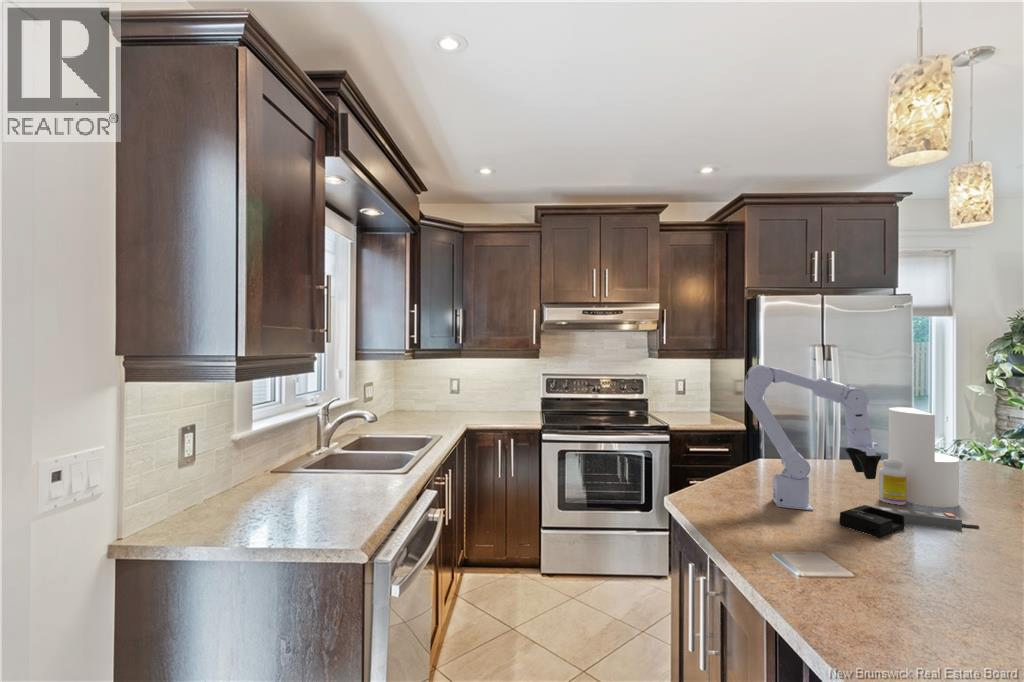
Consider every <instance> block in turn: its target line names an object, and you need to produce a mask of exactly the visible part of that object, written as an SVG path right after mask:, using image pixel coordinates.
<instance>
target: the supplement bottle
mask: <svg viewBox="0 0 1024 682" xmlns="http://www.w3.org/2000/svg"><path fill="white" fill-rule="evenodd" d="M882 464H883V467H881V468H879V470H878V471H879V472H878V476H879V477H878V499H879V500H880V501H881V502H883V503H885V502H886V503H885V504H888V503H890V505H894V504H897V506H904V505H906V503H907V502H906V473H905V472H904V471H903V470H902V469H901V467H902V462H900V461H897V460H889V459H888V458H887V459H883V460H882Z"/></svg>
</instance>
